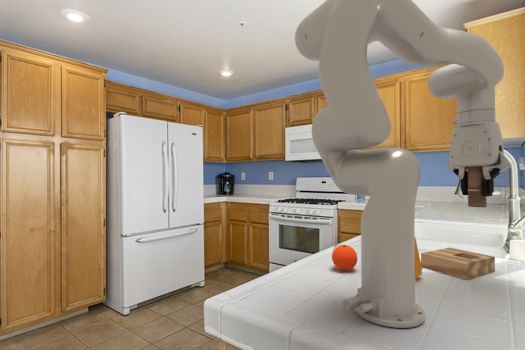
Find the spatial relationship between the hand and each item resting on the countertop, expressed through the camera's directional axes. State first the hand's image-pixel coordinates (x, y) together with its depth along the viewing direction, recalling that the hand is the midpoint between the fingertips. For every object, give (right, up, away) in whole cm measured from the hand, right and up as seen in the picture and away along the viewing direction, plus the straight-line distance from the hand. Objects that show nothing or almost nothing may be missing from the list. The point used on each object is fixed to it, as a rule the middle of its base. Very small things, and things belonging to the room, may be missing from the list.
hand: (476, 194), depth 72 cm
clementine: (-29, -22, +11) cm, 38 cm away
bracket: (-18, -22, +4) cm, 28 cm away
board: (+3, -21, +11) cm, 24 cm away
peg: (0, -3, 0) cm, 3 cm away
